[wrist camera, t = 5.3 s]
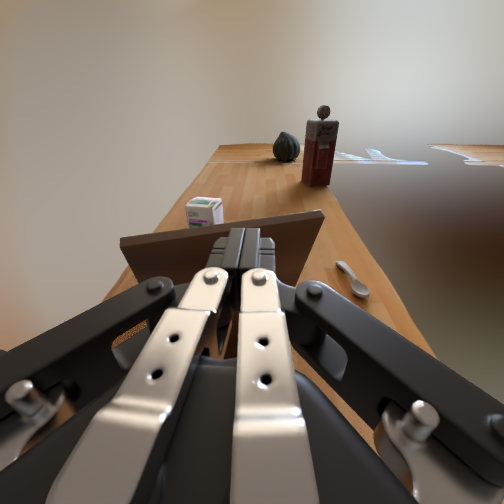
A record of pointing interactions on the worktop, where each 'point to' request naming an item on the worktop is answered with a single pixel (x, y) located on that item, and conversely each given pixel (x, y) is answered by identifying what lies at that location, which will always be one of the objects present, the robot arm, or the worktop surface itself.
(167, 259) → the lid
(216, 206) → the syrup box
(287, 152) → the squash
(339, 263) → the spoon
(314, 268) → the worktop surface
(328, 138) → the vintage gas pump
